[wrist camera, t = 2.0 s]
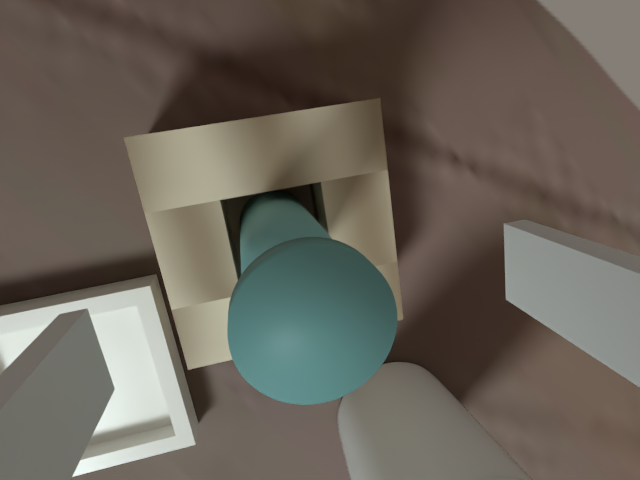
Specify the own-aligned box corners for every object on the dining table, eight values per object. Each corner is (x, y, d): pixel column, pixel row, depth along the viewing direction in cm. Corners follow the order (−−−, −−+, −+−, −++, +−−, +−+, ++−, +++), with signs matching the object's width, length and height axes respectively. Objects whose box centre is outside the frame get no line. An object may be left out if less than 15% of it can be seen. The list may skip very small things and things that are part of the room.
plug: (241, 268, 25) (246, 422, 12) (224, 190, 24) (209, 266, 11) (318, 252, 26) (404, 381, 13) (306, 175, 25) (388, 230, 11)
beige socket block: (196, 327, 27) (188, 370, 22) (146, 136, 23) (123, 137, 19) (375, 287, 28) (403, 319, 24) (353, 103, 25) (380, 98, 20)
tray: (25, 467, 27) (9, 493, 25) (-42, 313, 24) (-66, 329, 22) (198, 423, 28) (195, 444, 27) (156, 274, 25) (150, 285, 23)
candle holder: (347, 341, 29) (418, 477, 18) (468, 360, 31) (600, 492, 20) (311, 459, 31) (354, 651, 20) (427, 469, 33) (526, 646, 22)
